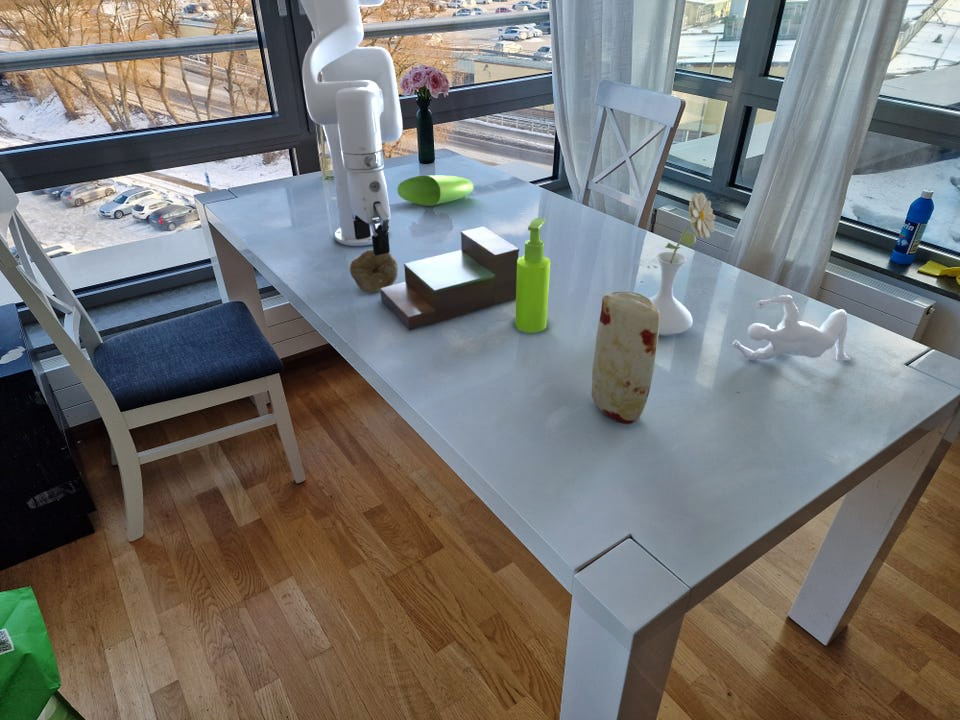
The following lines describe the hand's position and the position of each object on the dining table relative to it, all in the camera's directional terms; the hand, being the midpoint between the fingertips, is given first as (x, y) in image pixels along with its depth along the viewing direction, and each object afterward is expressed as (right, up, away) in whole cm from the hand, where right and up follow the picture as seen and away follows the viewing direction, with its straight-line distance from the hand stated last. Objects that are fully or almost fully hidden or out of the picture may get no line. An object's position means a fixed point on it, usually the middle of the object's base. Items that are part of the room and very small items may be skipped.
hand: (372, 245), depth 127 cm
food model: (+43, -31, -30) cm, 61 cm away
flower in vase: (+56, -17, -8) cm, 59 cm away
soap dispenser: (+31, -16, -8) cm, 36 cm away
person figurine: (+75, -23, -19) cm, 81 cm away
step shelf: (+16, -11, 0) cm, 19 cm away
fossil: (0, -7, +6) cm, 9 cm away
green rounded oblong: (+11, +21, +48) cm, 53 cm away
